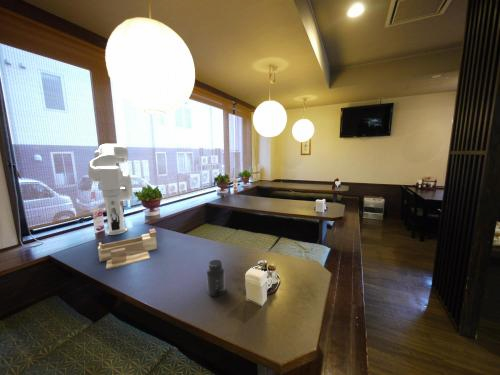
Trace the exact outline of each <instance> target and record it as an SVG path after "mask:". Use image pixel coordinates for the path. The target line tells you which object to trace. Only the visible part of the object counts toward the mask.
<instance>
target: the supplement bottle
mask: <svg viewBox="0 0 500 375" xmlns="http://www.w3.org/2000/svg"><path fill="white" fill-rule="evenodd" d="M206 284H207V285H206V286H207V293H208V295H209V296H211V297H219V296H222V295H223V294H224V293H225V291H226V275H225V269H224V267H223V264H222V260H220V259H212V260H211V261H209V263H208V269H207V271H206Z"/></svg>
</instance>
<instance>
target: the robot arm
mask: <svg viewBox="0 0 500 375" xmlns="http://www.w3.org/2000/svg"><path fill="white" fill-rule="evenodd" d="M93 156H94V157H95V158H93V159H91V160H90V161H89V163H88V165H87V166H88V167H87V175H88V178H89V180H90V181H91V182H94V183H101V184H100V186H101V193H102V197H103V200H104V204H105V209H106V217H107V224H108V230H107V232H106V235H108V236H113V235H114V236H115V235H121V234H124V233H127V231H128V228H127V227H125V219H124V210H123V206H122V205H121V202H125V201H131V200H132V199H133V186H132V185H133V184H132V178H131V176H130V174H129V173H128V172H124V171H123V169H122V168H121V167H120V166H118V165H117V164H124V163H127V162H128V161H129V160H128V159H129V158H128V157H129V150H128V148H127V146H126V145H124V144H122V143H104V144H101V145H100V146H99V147H98V150H95V151H94V154H93Z"/></svg>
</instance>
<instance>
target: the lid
mask: <svg viewBox="0 0 500 375" xmlns="http://www.w3.org/2000/svg"><path fill="white" fill-rule="evenodd" d="M111 258H112V259H110V260H106V265H105V270H106V271H108V270H111V269H115V268H119V267H122V266H123V267H124V266H127V265H130V264H134V263H138V262H143V261H146V260H150V259H151V257H150V253H149V251H145V252H140V253H136V254H132V255H128V256H126V251H125V248H120V249H116V250H111Z"/></svg>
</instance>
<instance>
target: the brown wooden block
mask: <svg viewBox="0 0 500 375" xmlns="http://www.w3.org/2000/svg"><path fill="white" fill-rule="evenodd" d="M148 232H149V234H150V237H155V236H156V237H157V231H156V229H155V228H150V229H148Z"/></svg>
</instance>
